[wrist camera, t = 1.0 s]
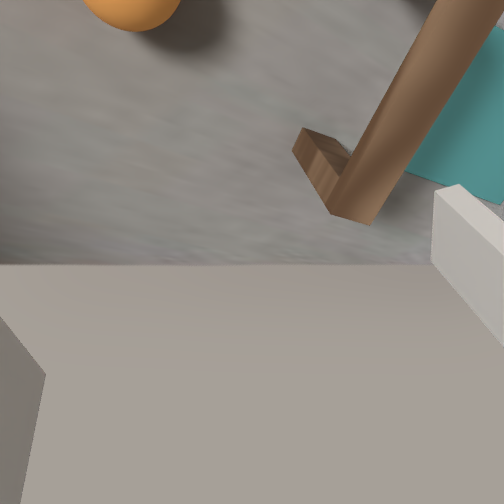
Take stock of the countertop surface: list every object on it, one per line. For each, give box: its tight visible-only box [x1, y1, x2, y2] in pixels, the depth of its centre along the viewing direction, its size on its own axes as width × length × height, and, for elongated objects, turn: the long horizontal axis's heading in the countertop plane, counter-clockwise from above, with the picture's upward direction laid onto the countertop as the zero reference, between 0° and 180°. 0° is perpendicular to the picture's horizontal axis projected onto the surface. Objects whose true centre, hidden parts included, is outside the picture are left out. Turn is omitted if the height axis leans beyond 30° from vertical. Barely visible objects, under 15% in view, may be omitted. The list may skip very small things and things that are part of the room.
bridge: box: [292, 0, 504, 226], centre depth 29 cm, size 3×15×10 cm, turn 157°
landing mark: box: [404, 26, 504, 205], centre depth 38 cm, size 12×12×1 cm
